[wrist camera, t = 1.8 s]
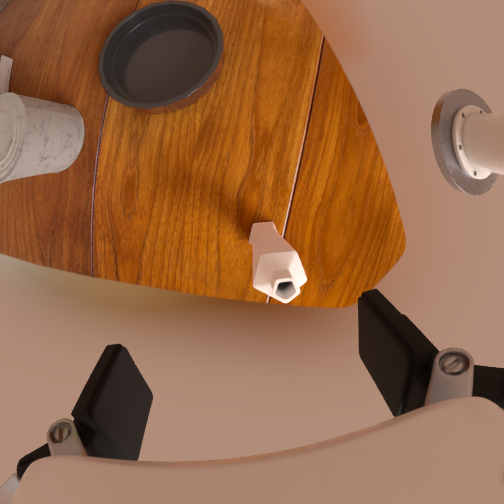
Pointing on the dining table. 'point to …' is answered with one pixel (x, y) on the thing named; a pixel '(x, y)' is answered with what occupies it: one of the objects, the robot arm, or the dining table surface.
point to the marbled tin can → (37, 136)
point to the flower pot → (3, 3)
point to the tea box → (5, 73)
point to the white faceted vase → (275, 263)
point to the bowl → (162, 57)
